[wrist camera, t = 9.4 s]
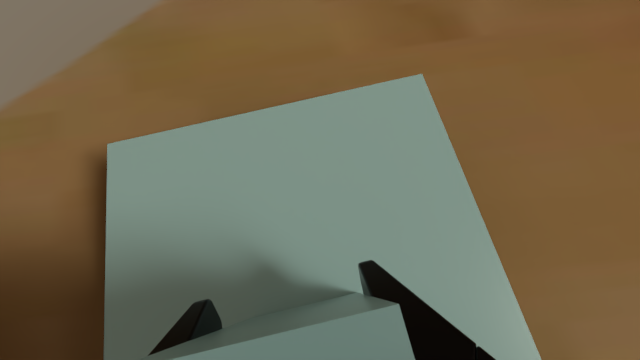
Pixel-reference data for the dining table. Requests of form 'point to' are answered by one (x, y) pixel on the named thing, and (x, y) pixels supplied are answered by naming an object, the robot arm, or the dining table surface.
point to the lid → (301, 233)
